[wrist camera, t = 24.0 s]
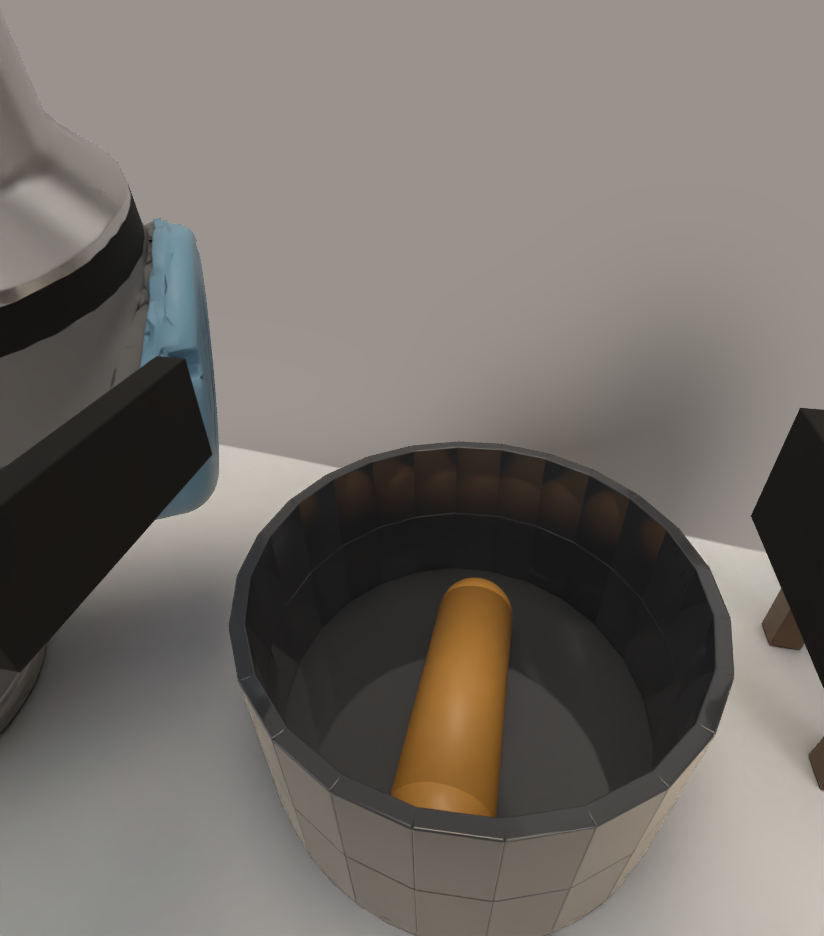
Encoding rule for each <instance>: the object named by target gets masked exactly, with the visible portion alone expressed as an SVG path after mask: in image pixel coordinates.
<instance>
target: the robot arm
mask: <svg viewBox="0 0 824 936" xmlns="http://www.w3.org/2000/svg"><path fill="white" fill-rule="evenodd" d="M218 475H219V442H218V423H217V407H216V394H215V383H214V370H213V359H212V350H211V340H210V330H209V320H208V311H207V302H206V294H205V286H204V279H203V272H202V265H201V260H200V255H199V252H198V250H197V246H196V238H195V236H194V234H193V232H192V231H191V230H190V229H189V228H187V227H185V226H183V225H180V224H171V223H168V222H167V221H165V220H162V221H161V218H159V219H153V222H151V223H148V224H146V225H143V223H142V221H141V219H140V216H139V213H138V211H137V208H136V205H135V202H134V199H133V196H132V194H131V191H130V188H129V185H128V183H127V180H126V178H125V176H124V174H123V172H122V170H121V168H120V166H119V164H118V162H117V161H116V160H115V159H114V158H113V157H112V156H111V155H110V154H109V153H107V152H105V151H104V150H103V149H101V148H100V147H98V146H97V145H95V144H94V143H92V142H90V141H89V140H87V139H85V138H83V137H82V136H80V135H78V134H77V133H75V132H73V131H71V130H70V129H68V128H66V127H64V126H63V125H61V124H59V123H57V122H56V121H55V120H54V119H53V118H52V117H51V116H50V115H48V114H47V113H46V112H45V111H44V110H43V108H42V106H41V104H40V101H39V99H38V97H37V94H36V92H35V89H34V87H33V85H32V82H31V80H30V78H29V75H28V73H27V71H26V68H25V66H24V64H23V61H22V59H21V57H20V54H19V52H18V50H17V47H16V45H15V42H14V40H13V38H12V36H11V33H10V31H9V28H8V26H7V24H6V21H5V19H4V17H3V14H2V12H1V10H0V733H1V732H2V731H3V730H4V729H5V727H6V726H7V725H8V724H9V722H10V721H11V720H12V719H13V717H14V716H15V715H16V713H17V712H18V710H19V709H20V707H21V706H22V705H23V703H24V701H25V700H26V698H27V696H28V695H29V693H30V691H31V690H32V688H33V685H34V683H35V681H36V679H37V677H38V675H39V672H40V669H41V666H42V663H43V659H44V655H45V648H46V643H47V642H48V641H49V640H50V638H51V637H52V636H53V635H54V634H55V633H56V632H57V630H58V629H59V628H60V627H61V626H62V625H63V624H64V623H65V621H66V620H67V619H68V618H69V617H70V616H71V615H72V613H73V612H74V611H75V610H76V609H77V608H78V607H79V606H80V604H81V603H82V602H83V601H84V600H85V599H86V598H87V596H88V595H89V594H90V593H91V592H92V591H93V590H94V588H95V587H96V586H97V585H98V584H99V583H100V582H101V581H102V579H103V578H104V577H105V576H106V575H107V574H108V573H109V571H110V570H111V569H112V568H113V567H114V566H115V565H116V564H117V562H118V561H119V560H120V559H121V558H122V557H123V556H124V554H125V553H126V552H127V551H128V550H129V549H130V548H131V547H132V545H133V544H134V543H135V542H136V541H137V540H138V539H139V537H140V536H141V535H142V534H143V533H144V532H145V531H146V529H147V528H148V527H149V526H150V525H151V524H152V523H153V522H154V520H157V519H161V518H166V517H170V516H175V515H179V514H184V513H188V512H190V511H193V510H195V509H197V508H199V507H200V506H201V505H203V504H204V503H205V502H206V501H207V500H208V499H209V498H210V496H211V495H212V493H213V491H214V490H215V487H216V484H217V480H218ZM751 517H752V520H753V522H754V524H755V527H756V529H757V531H758V534H759V536H760V539H761V541H762V543H763V546H764V548H765V550H766V553H767V555H768V557H769V560H770V562H771V565H772V567H773V569H774V572H775V574H776V576H777V579H778V581H779V584H780V586H781V588H782V591H783V593H784V595H785V598H786V600H787V603H788V605H789V607H790V610H791V612H792V614H793V617H794V619H795V622H796V624H797V626H798V629H799V631H800V633H801V636H802V638H803V640H804V643H805V645H806V648H807V650H808V652H809V655H810V657H811V659H812V662H813V664H814V667H815V669H816V671H817V674H818V676H819V678H820V681H821V683H822V686H823V688H824V410H819V409H807V408H800V410H799V412H798V414H797V416H796V418H795V421H794V423H793V425H792V427H791V429H790V431H789V434H788V436H787V438H786V440H785V442H784V445H783V447H782V449H781V451H780V453H779V456H778V458H777V460H776V462H775V464H774V467H773V469H772V471H771V473H770V475H769V478H768V480H767V482H766V484H765V486H764V488H763V491H762V493H761V495H760V497H759V499H758V502H757V504H756V506H755V508H754V510H753V513H752V515H751Z"/></svg>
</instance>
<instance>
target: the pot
mask: <svg viewBox="0 0 824 936" xmlns="http://www.w3.org/2000/svg"><path fill="white" fill-rule="evenodd" d="M467 578H482V579H486V580H488V581H491V582H493V583H494V584H496V585H497V586H498V587H500V588H501V589H502V591H503V592H504V593H505V594H506V596H507V597H508V599H509V602H510V604H511V608H512V616H513V621H512V633H511V645H510V657H509V669H508V681H507V693H506V705H505V716H504V728H503V740H502V752H501V764H500V776H499V788H498V800H497V812H496V817H488V816H481V815H473V814H466V813H458V812H450V811H443V810H435V809H428V808H420V807H416V806H413V805H411V804H409V803H407V802H404V801H402V800H400V799H397V798H395V797H393V796H391V795H390V794H391V790H392V787H393V783H394V779H395V775H396V771H397V767H398V763H399V760H400V756H401V752H402V748H403V744H404V740H405V736H406V733H407V729H408V725H409V721H410V717H411V713H412V709H413V706H414V702H415V698H416V694H417V690H418V686H419V683H420V679H421V675H422V671H423V667H424V663H425V659H426V656H427V652H428V648H429V644H430V640H431V636H432V632H433V629H434V625H435V621H436V617H437V613H438V609H439V605H440V602H441V600H442V598H443V596H444V594H445V593H446V592H447V590H448V589H449V588H450V587H451V586H452V585H454V584H455V583H457V582H459V581H461V580H463V579H467ZM229 632H230V638H231V643H232V649H233V655H234V660H235V666H236V671H237V677H238V682H239V685H240V688H241V690H242V693H243V696H244V699H245V702H246V704H247V707H248V710H249V713H250V716H251V718H252V721H253V724H254V727H255V730H256V732H257V735H258V738H259V741H260V744H261V746H262V749H263V752H264V755H265V758H266V760H267V763H268V766H269V769H270V772H271V774H272V777H273V780H274V783H275V786H276V788H277V791H278V794H279V797H280V800H281V802H282V805H283V807H284V809H285V811H286V813H287V815H288V816H289V818H290V820H291V822H292V824H293V826H294V829H295V831H296V833H297V835H298V837H299V838H300V840H301V842H302V843H303V845H304V846H305V848H306V850H307V852H308V854H309V855H310V856H311V858H312V859H313V861H314V862H315V863H316V864H317V865H318V866H319V868H320V869H321V870H322V871H323V872H324V873H325V875H326V876H327V877H328V878H329V879H330V880H331V881H332V883H333V884H334V885H335V886H336V887H338V888H339V889H340V890H341V891H342V892H343V893H345V894H346V895H347V896H348V897H349V898H350V899H352V900H353V901H354V902H355V903H356V904H357V905H359V906H360V907H362V908H363V909H365V910H367V911H368V912H370V913H371V914H373V915H375V916H376V917H378V918H380V919H381V920H383V921H384V922H386V923H388V924H390V925H393V926H395V927H398V928H400V929H402V930H405V931H407V932H409V933H412V934H414V935H416V936H546V935H549V934H551V933H553V932H555V931H557V930H559V929H562V928H564V927H566V926H568V925H570V924H572V923H574V922H576V921H578V920H579V919H581V918H582V917H584V916H585V915H586V914H588V913H589V912H591V911H592V910H593V909H595V908H596V907H598V906H599V905H601V904H602V903H603V902H605V901H606V900H607V899H608V898H609V897H610V896H611V895H612V893H613V892H614V891H615V890H616V889H617V888H618V887H619V886H620V885H621V884H622V883H623V882H624V880H625V879H626V877H627V876H628V874H629V873H630V872H631V870H632V869H633V868H634V867H635V866H636V864H637V863H638V862H639V861H640V859H641V858H642V857H643V856H644V855H645V853H646V851H647V850H648V848H649V846H650V845H651V843H652V841H653V839H654V838H655V836H656V834H657V833H658V831H659V829H660V828H661V826H662V824H663V823H664V821H665V819H666V818H667V816H668V814H669V812H670V811H671V809H672V807H673V806H674V804H675V802H676V801H677V799H678V797H679V795H680V794H681V792H682V790H683V789H684V787H685V785H686V784H687V782H688V780H689V779H690V777H691V775H692V774H693V772H694V770H695V768H696V767H697V765H698V763H699V762H700V760H701V758H702V757H703V755H704V753H705V752H706V750H707V748H708V746H709V745H710V743H711V741H712V740H713V738H714V736H715V735H716V732H717V729H718V726H719V723H720V720H721V716H722V713H723V710H724V707H725V704H726V701H727V698H728V695H729V692H730V689H731V686H732V683H733V680H734V662H733V646H732V630H731V620H730V616H729V613H728V611H727V608H726V606H725V604H724V601H723V599H722V596H721V594H720V592H719V589H718V587H717V584H716V582H715V579H714V577H713V575H712V572H711V570H710V568H709V567H708V565H707V564H706V563H705V561H704V560H703V559H702V558H701V556H700V555H699V554H698V552H697V551H696V550H695V549H694V547H693V546H692V545H691V543H690V542H689V541H688V539H687V538H686V537H685V536H684V534H683V533H682V532H681V530H680V529H679V528H677V526H675V525H674V524H673V523H672V522H670V521H669V520H668V519H667V518H666V517H665V516H663V515H662V514H661V513H660V512H659V511H658V510H656V509H655V508H654V507H653V506H651V505H650V504H649V503H648V502H647V501H646V500H644V499H643V498H642V497H641V496H640V495H638V494H636V493H634V492H633V491H631V490H629V489H628V488H626V487H624V486H622V485H620V484H619V483H617V482H615V481H613V480H612V479H610V478H608V477H606V476H604V475H603V474H601V473H599V472H597V471H595V470H593V469H590V468H588V467H584V466H582V465H579V464H577V463H574V462H571V461H568V460H565V459H563V458H560V457H557V456H555V455H552V454H548V453H544V452H539V451H534V450H529V449H524V448H519V447H513V446H509V445H503V444H492V443H474V442H473V443H472V442H449V443H437V444H426V445H414V446H412V447H411V446H408V447H404V448H400V449H396V450H392V451H389V452H384V453H380V454H376V455H373V456H369V457H366V458H363V459H361V460H359V461H356V462H354V463H352V464H350V465H347V466H345V467H343V468H340V469H338V470H336V471H334V472H331V473H329V474H327V475H325V476H324V477H322V478H321V479H319V480H318V481H316V482H315V483H314V484H312V485H311V486H309V487H308V488H306V489H305V490H303V491H302V492H301V493H299V494H298V495H296V496H295V497H293V498H292V499H290V501H288V502H287V503H286V505H285V506H284V507H283V508H282V509H281V510H280V511H279V512H278V513H277V514H276V515H275V517H274V518H273V519H272V520H271V521H270V522H269V523H268V524H267V525H266V526H265V528H264V529H263V530H262V531H261V532H260V533H259V534H258V536H257V538H256V540H255V542H254V543H253V545H252V547H251V549H250V551H249V553H248V555H247V557H246V559H245V561H244V563H243V565H242V567H241V569H240V571H239V573H238V575H237V578H236V584H235V590H234V597H233V603H232V609H231V615H230V621H229Z"/></svg>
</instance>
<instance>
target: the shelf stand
mask: <svg viewBox="0 0 824 936" xmlns="http://www.w3.org/2000/svg"><path fill="white" fill-rule="evenodd" d="M762 624H763V627H764V630H765V633H766V636H767V639H768V641H769V644H770V645H772V646H779V647H785V648H792V649H798V650H800V649H801V648H802V646H803V645H804V640H803V638H802V636H801V633H800V631H799V629H798V626H797V624H796V622H795V619H794V617H793V614H792V612H791V610H790V607H789V605H788V603H787V600H786V598H785V595H784V593H783V591H782V588H781V590H780V592H779V594H778V595H777V597H776V599H775V601H774V603H773V604H772V606H771V608H770V610H769V611H768V613H767V615H766V617H765V619H764V620H763V622H762ZM809 758H810V761H811V764H812V766H813V769H814V772H815V775H816V778H817V781H818V783H819V786H820V789H822V790H824V737H823V738H822V739H821V740H820V742H819V743H818V744H817V745H816V747H815V748H814V749H813V750H812V751H811V753H810V754H809Z"/></svg>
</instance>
